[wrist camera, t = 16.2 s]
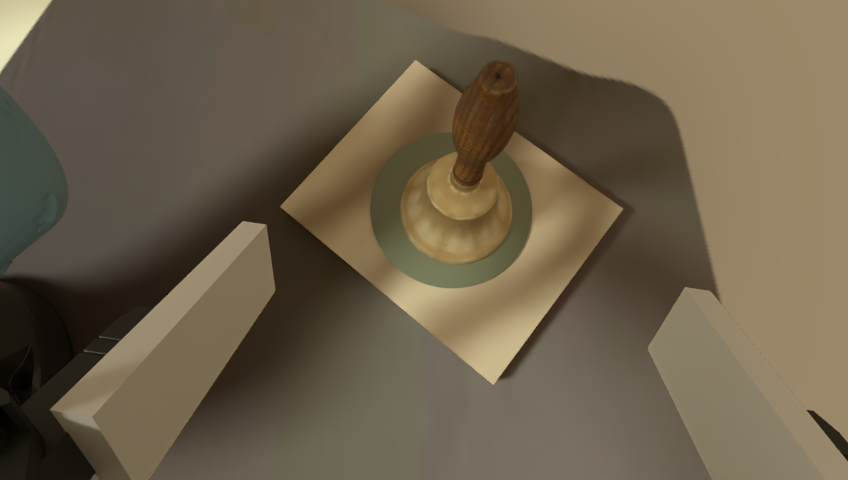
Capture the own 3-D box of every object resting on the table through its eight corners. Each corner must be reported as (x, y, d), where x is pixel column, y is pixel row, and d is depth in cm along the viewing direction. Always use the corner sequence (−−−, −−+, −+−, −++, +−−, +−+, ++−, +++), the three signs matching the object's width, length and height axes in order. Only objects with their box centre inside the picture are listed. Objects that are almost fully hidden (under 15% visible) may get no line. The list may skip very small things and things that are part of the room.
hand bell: (504, 153, 29) (593, -39, 14) (518, 260, 28) (638, 181, 12) (396, 161, 29) (361, -22, 14) (403, 269, 28) (373, 201, 12)
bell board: (287, 212, 30) (278, 205, 29) (416, 71, 33) (415, 58, 31) (489, 381, 28) (493, 385, 26) (613, 214, 30) (624, 208, 28)
